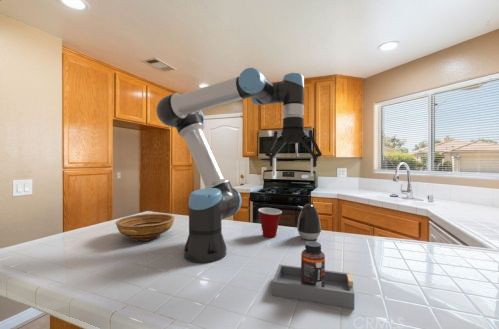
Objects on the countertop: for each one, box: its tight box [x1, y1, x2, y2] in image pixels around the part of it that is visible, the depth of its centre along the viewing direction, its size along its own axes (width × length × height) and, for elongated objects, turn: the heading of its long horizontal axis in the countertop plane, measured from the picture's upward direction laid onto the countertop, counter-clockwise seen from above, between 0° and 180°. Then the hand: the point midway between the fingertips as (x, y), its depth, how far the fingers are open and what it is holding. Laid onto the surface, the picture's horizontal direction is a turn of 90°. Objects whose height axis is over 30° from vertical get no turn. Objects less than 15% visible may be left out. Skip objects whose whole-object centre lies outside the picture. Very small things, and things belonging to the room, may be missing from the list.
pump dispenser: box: [296, 203, 322, 241], centre depth 105 cm, size 10×10×15 cm
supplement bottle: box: [300, 240, 326, 287], centre depth 62 cm, size 6×6×11 cm
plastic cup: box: [258, 207, 283, 239], centre depth 108 cm, size 11×11×12 cm
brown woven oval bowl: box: [115, 213, 176, 241], centre depth 107 cm, size 30×24×8 cm
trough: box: [272, 264, 355, 310], centre depth 62 cm, size 19×10×5 cm, turn 73°
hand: (292, 176), depth 87 cm, fingers open, 13 cm apart
